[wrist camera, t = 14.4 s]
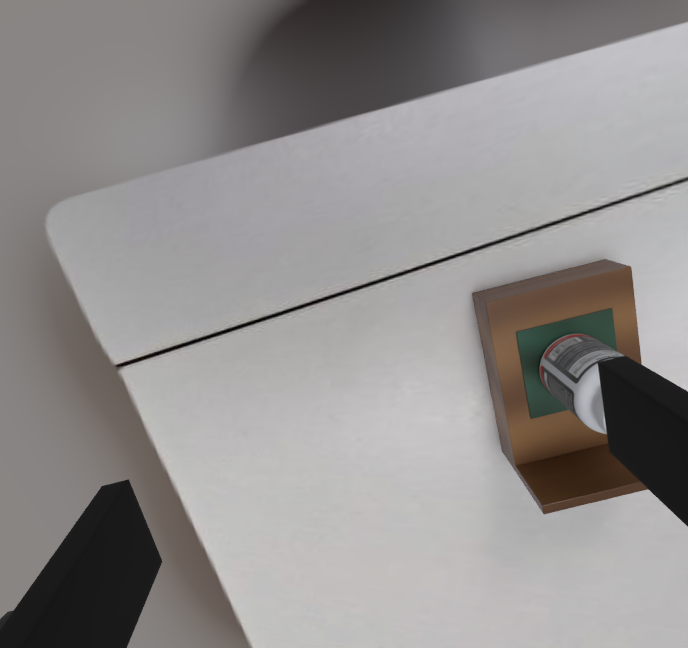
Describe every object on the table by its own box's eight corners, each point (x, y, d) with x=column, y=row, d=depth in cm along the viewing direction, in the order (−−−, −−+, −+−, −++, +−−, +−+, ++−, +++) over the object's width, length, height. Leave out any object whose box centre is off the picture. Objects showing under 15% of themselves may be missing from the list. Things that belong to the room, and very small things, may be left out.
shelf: (471, 293, 47) (510, 322, 38) (605, 259, 47) (679, 280, 37) (502, 451, 51) (543, 514, 42) (625, 421, 51) (695, 477, 41)
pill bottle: (594, 399, 46) (667, 458, 36) (530, 392, 45) (586, 450, 36) (612, 335, 44) (692, 379, 35) (545, 327, 44) (608, 369, 34)
